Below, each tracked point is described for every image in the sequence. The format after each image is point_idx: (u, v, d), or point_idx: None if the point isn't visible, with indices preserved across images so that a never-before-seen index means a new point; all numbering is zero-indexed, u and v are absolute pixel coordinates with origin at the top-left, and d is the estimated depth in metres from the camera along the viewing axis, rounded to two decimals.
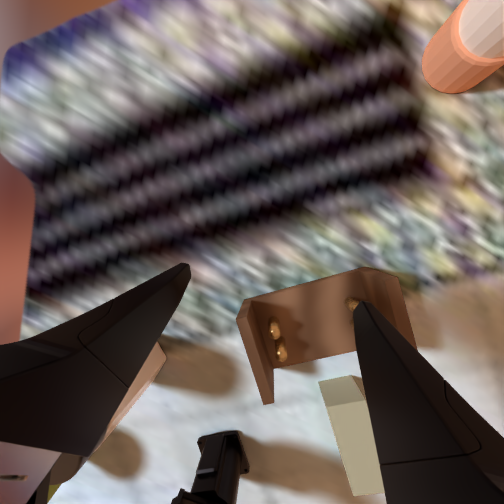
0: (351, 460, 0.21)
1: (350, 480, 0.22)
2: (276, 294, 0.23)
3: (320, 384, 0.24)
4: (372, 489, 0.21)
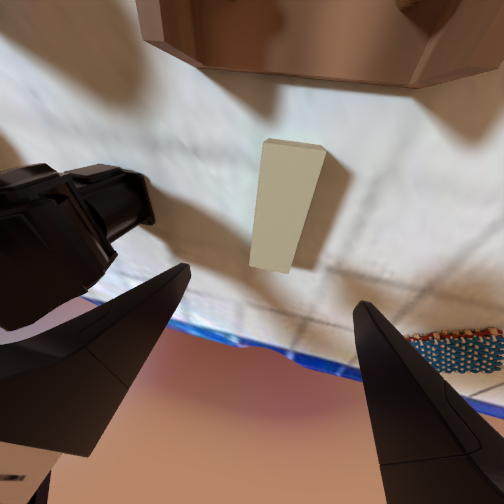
0: (263, 231, 0.17)
1: (252, 251, 0.19)
2: None
3: (270, 138, 0.15)
4: (270, 266, 0.19)
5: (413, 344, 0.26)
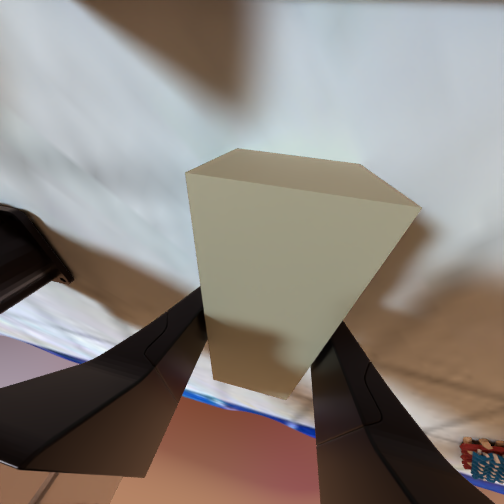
0: (230, 347, 0.08)
1: (214, 366, 0.10)
2: None
3: (236, 151, 0.06)
4: (252, 387, 0.10)
5: (482, 458, 0.17)
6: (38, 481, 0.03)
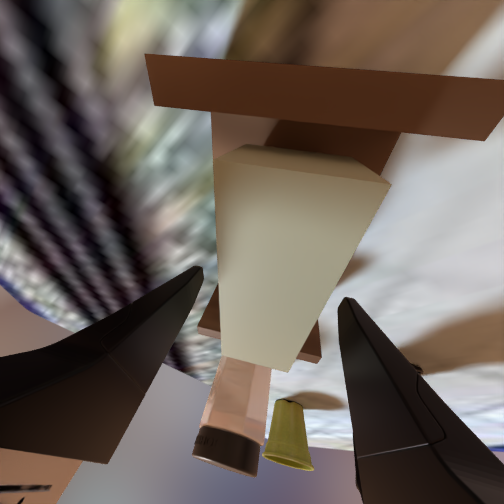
0: (239, 319, 0.09)
1: (224, 340, 0.11)
2: None
3: (246, 146, 0.07)
4: (257, 360, 0.11)
5: None
6: None
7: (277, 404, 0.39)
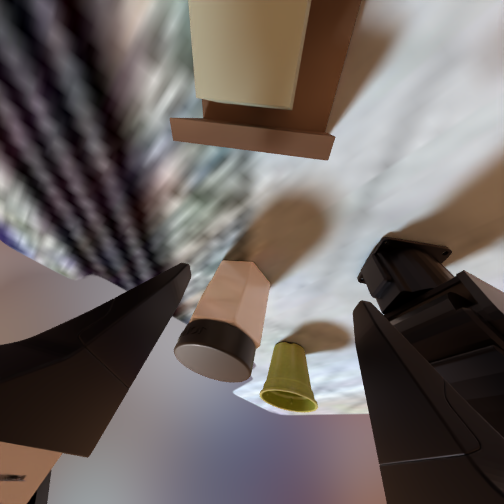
0: None
1: (195, 28, 0.07)
2: None
3: None
4: (245, 85, 0.08)
5: None
6: None
7: (276, 347, 0.35)
